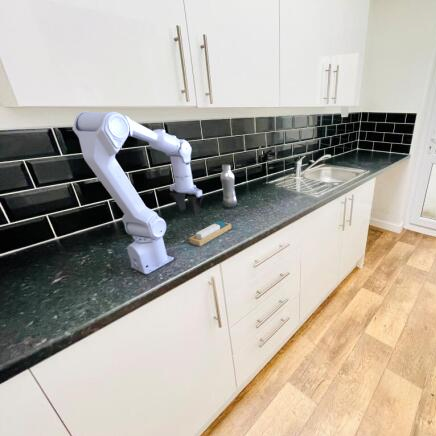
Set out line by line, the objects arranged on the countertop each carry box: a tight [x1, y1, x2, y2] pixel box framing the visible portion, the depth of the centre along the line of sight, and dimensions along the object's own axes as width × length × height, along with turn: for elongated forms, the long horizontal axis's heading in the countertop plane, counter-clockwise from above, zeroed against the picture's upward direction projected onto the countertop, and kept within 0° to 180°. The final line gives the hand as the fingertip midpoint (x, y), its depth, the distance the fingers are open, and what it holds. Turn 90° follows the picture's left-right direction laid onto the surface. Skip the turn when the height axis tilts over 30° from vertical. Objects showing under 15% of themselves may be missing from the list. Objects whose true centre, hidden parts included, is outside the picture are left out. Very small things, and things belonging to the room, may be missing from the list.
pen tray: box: [188, 221, 233, 247], centre depth 96 cm, size 16×5×2 cm, turn 150°
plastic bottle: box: [220, 163, 238, 208], centre depth 120 cm, size 6×7×20 cm
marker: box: [195, 220, 225, 240], centre depth 96 cm, size 12×3×3 cm, turn 150°
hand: (189, 212), depth 93 cm, fingers open, 7 cm apart
